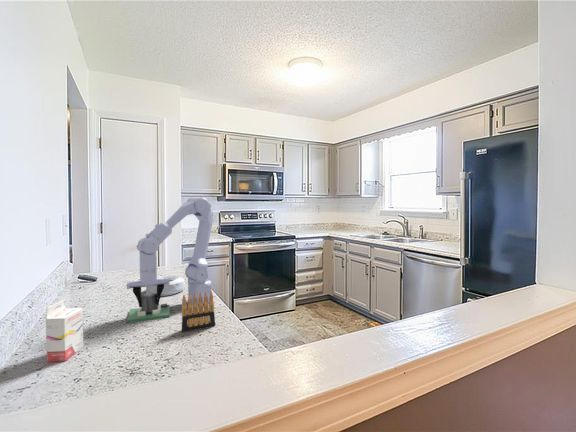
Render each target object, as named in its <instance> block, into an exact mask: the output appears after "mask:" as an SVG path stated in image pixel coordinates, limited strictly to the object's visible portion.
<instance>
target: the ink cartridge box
mask: <svg viewBox="0 0 576 432" xmlns="http://www.w3.org/2000/svg"><path fill="white" fill-rule="evenodd" d="M56 307H58V308H56ZM55 308H56V309H55ZM83 311H84V310H83V307H76V308H75V307H74V308H73V307H71V308H70V307H69V308H67V298H64V299H62V300H59V301H58V302H56V303H55V302H54V303H53V304H51V305H50V306H47V307H46V311H45V336H46V337H45V340H46V361H47V363H51V362H66V361H67V360H68V359H70V358H71V357H72V356H74V355H75V354H76V353H78V352H79V351H80V350H82V349H83V348H84V317H83V315H84V312H83Z"/></svg>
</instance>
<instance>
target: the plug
mask: <svg viewBox="0 0 576 432" xmlns="http://www.w3.org/2000/svg"><path fill="white" fill-rule="evenodd" d="M156 309H157V293H144V294H143V295H141V311H145V312H146V313H148V312H153V310H156Z"/></svg>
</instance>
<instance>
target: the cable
mask: <svg viewBox="0 0 576 432" xmlns="http://www.w3.org/2000/svg"><path fill="white" fill-rule="evenodd" d="M157 279H169V284H170V285H164V289H163V291H162V293H161V296H160V297H164V296H165V297H166V296H171V295H175V294H178V293H180V292H182V291H183V290H184V289H185V287H186V283H185V280H184V278H183V276H181V275H175V274H172V275H171V274H169V275H167V274H166V275H160V276H157ZM145 292H146V293H157V286H149V287H145ZM146 293H145V294H146Z"/></svg>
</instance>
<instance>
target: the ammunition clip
mask: <svg viewBox="0 0 576 432" xmlns="http://www.w3.org/2000/svg"><path fill="white" fill-rule="evenodd" d="M212 291H213V290H212ZM212 291H211V292H210V299H209V304H208V296H207V292H205V295H204V304H203V301H202V294H201V292H200V294H199V304H197V296H196V293H195V294H194V298H193V306H192V299H191V295H190V294H189V296H188V297H186V295H185V294H183V295H182V302H181V304H182V305H181V332H182V333H184V332H189V330H191V331H196V330H201V329H200V328H202V329H207V328H206V327H208V328H213V327H215V326H216V321H215V320H216V318H215V317H216V316H215V302H214V293H213V292H212ZM186 298H187V299H186ZM187 300H188V303H187ZM212 326H213V327H212ZM195 329H196V330H195Z"/></svg>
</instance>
